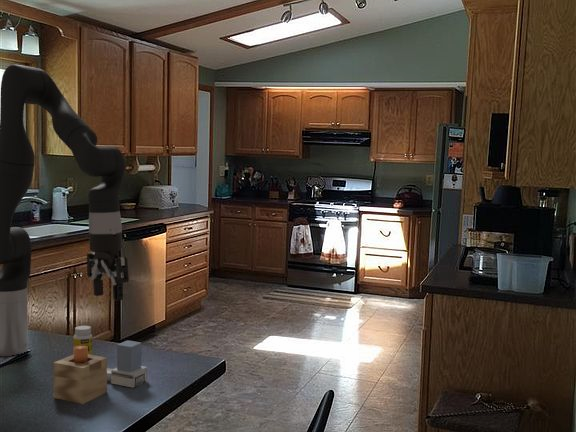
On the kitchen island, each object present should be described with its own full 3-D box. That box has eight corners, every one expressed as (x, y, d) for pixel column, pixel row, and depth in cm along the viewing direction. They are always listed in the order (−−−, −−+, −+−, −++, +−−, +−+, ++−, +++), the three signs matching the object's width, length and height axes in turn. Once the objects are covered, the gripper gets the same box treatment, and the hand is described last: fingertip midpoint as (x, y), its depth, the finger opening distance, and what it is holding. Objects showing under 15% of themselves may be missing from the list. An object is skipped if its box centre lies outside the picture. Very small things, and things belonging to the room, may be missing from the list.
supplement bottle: (80, 363, 167) (80, 331, 166) (69, 359, 170) (69, 327, 169) (96, 358, 171) (96, 327, 170) (85, 355, 173) (85, 324, 173)
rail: (73, 374, 158) (73, 366, 158) (82, 371, 161) (82, 363, 161) (136, 387, 151) (136, 378, 151) (143, 382, 154) (143, 374, 154)
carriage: (111, 383, 152) (111, 345, 152) (125, 376, 158) (126, 338, 157) (132, 387, 150) (132, 348, 149) (146, 379, 155) (147, 342, 154)
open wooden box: (53, 397, 144) (53, 362, 143) (78, 386, 151) (78, 352, 150) (83, 404, 141) (83, 368, 140) (106, 391, 148) (106, 357, 147)
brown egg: (70, 361, 144) (70, 348, 144) (79, 358, 147) (79, 345, 147) (81, 363, 143) (81, 350, 143) (90, 359, 146) (90, 346, 145)
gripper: (75, 230, 157) (78, 296, 159) (108, 234, 148) (110, 304, 149) (103, 227, 163) (105, 291, 164) (136, 231, 153) (138, 299, 155)
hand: (108, 297), depth 157 cm, fingers open, 8 cm apart
